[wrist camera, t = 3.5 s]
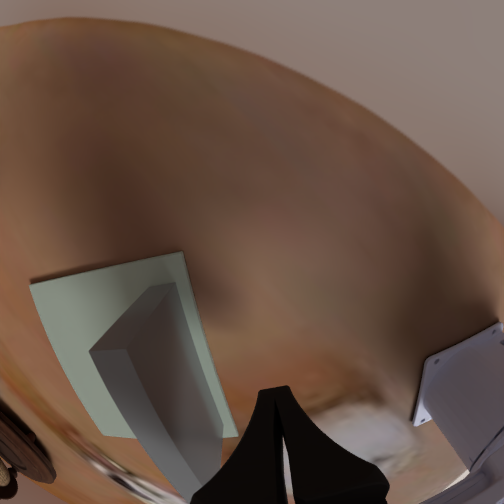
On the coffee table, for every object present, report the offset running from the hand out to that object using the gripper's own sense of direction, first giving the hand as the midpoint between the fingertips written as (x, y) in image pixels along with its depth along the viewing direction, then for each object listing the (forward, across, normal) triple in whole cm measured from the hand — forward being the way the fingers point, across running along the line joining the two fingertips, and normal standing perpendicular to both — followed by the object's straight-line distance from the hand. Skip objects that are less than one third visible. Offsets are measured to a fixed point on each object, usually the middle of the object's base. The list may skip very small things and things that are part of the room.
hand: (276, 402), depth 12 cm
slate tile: (+4, +5, 0) cm, 7 cm away
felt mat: (+5, +10, 0) cm, 11 cm away
